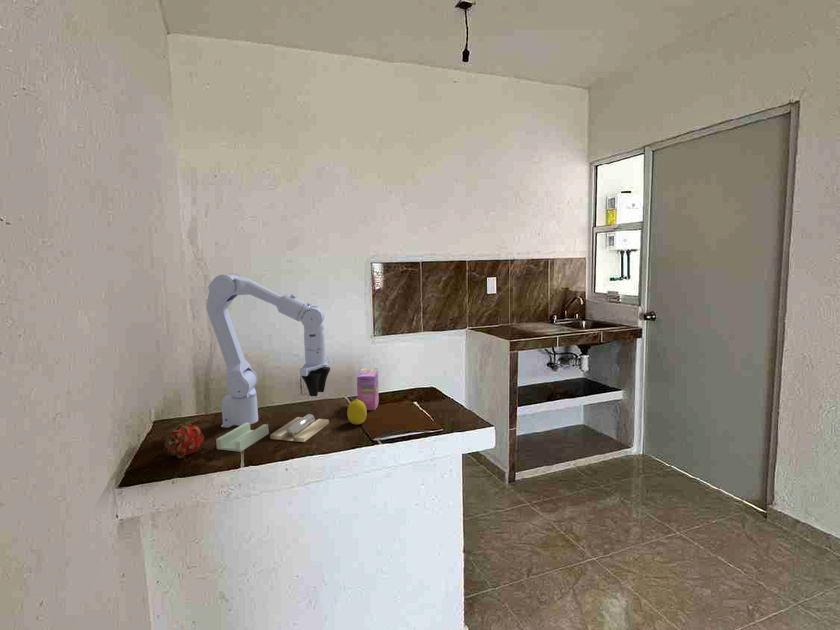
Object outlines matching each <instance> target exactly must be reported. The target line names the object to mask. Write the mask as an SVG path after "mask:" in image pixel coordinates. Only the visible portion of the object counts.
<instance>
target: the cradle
mask: <svg viewBox="0 0 840 630" xmlns="http://www.w3.org/2000/svg"><path fill="white" fill-rule="evenodd" d="M267 435H270V431H269V424H267V423H264V424H262V425H260V426H259V427H257V428H255V429H251V424H250V423H244V424H243V425H241V426H238V427H236V428H234V429H232V430H230V431H228V432H226V433H225V434H223V435H221V436H219V437H217V438H215V442H216V443H215V445H216V450H224V451H233V452H240V453H241V452H243V451H244V450H246V449H248V448H249V447H250V446H252V445H254V444H255V443H257V442H259V440H261V439H263V438H264V437H266V436H267Z"/></svg>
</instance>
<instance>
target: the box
mask: <svg viewBox="0 0 840 630" xmlns="http://www.w3.org/2000/svg"><path fill="white" fill-rule="evenodd" d="M356 391H357V393H356V396H357V398H356V399H358V400H360V401H362V402H363V403H364V404H365V406H366V410H367V411H375V410H377V409H378V406H379V400H380V399H379V398H380V397H379V395H380V394H379V368H377V367H362V368H360V369H359V372H358V374H357V376H356ZM376 408H377V409H376Z"/></svg>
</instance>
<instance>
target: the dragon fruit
mask: <svg viewBox="0 0 840 630" xmlns="http://www.w3.org/2000/svg"><path fill="white" fill-rule="evenodd" d="M164 438H165V442H164V445H163V446H164V447H163V451H164V452H166V453H167V455H168V456H175V457H176V458H178V459H181V458H183V457H184V459H185V458H187V455H191V454H195V453H199V452H200V449H199V448H200V446H201V445H202V443H203V442H204V441H205V436H204V434H203V433H202V431H201V429H200V428H199V426H197V425H196V424H195V425H192V423H189V422H188V423H187V422H186V423H185V424H184V425H182V426H181V425H179V426H177V427H175V428H173V431H171V432H168V433H165V434H164Z"/></svg>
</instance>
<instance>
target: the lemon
mask: <svg viewBox="0 0 840 630" xmlns="http://www.w3.org/2000/svg"><path fill="white" fill-rule="evenodd" d="M367 411H368V410H366V406H365V404H364V403H363V402H362V401H360V400H358V399H357V398H355V399H354V400H352V401H351V402H349V404H348V406H347V419H348V421H349V422H350V424H353V425H354V426H355V425H361V424H363V423H364V422H365V421H366V419H367V415H368V414H367Z"/></svg>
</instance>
